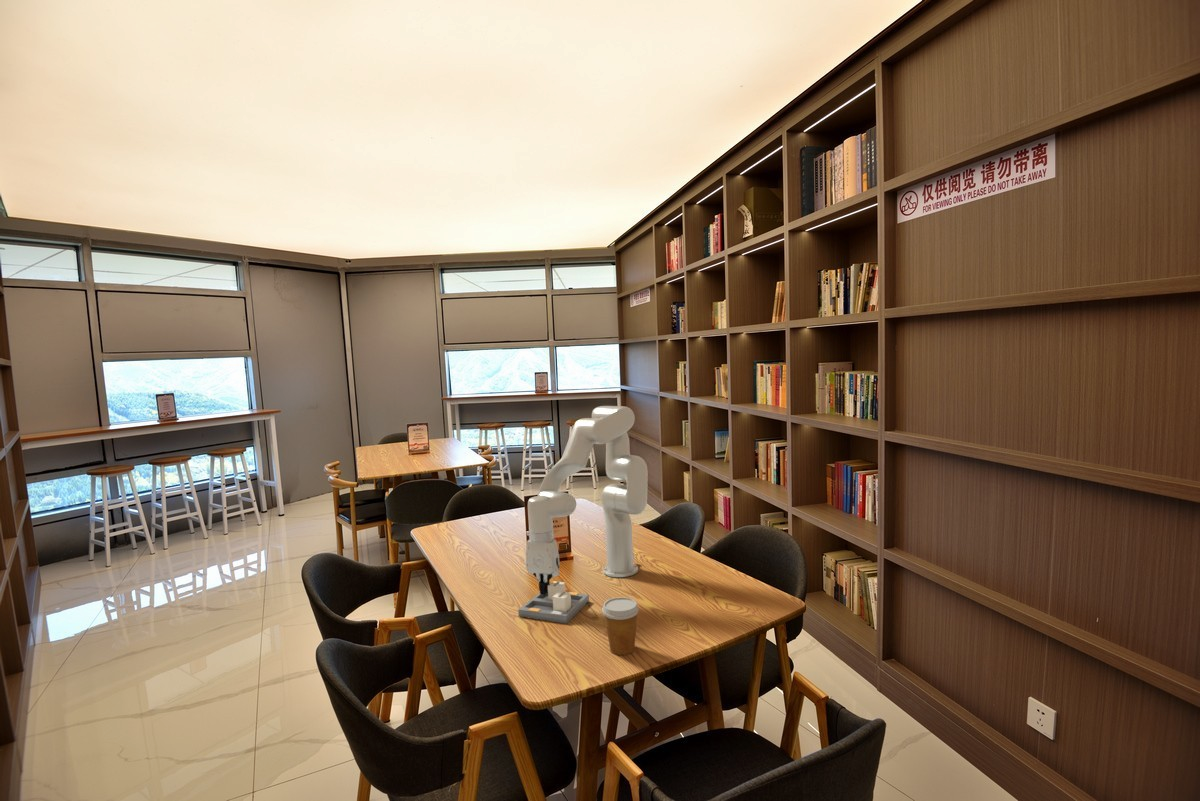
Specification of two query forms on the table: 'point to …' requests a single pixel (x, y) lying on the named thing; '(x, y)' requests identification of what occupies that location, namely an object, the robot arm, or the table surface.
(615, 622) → the disposable coffee cup
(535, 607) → the switch bank
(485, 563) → the table surface
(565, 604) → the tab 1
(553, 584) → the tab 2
